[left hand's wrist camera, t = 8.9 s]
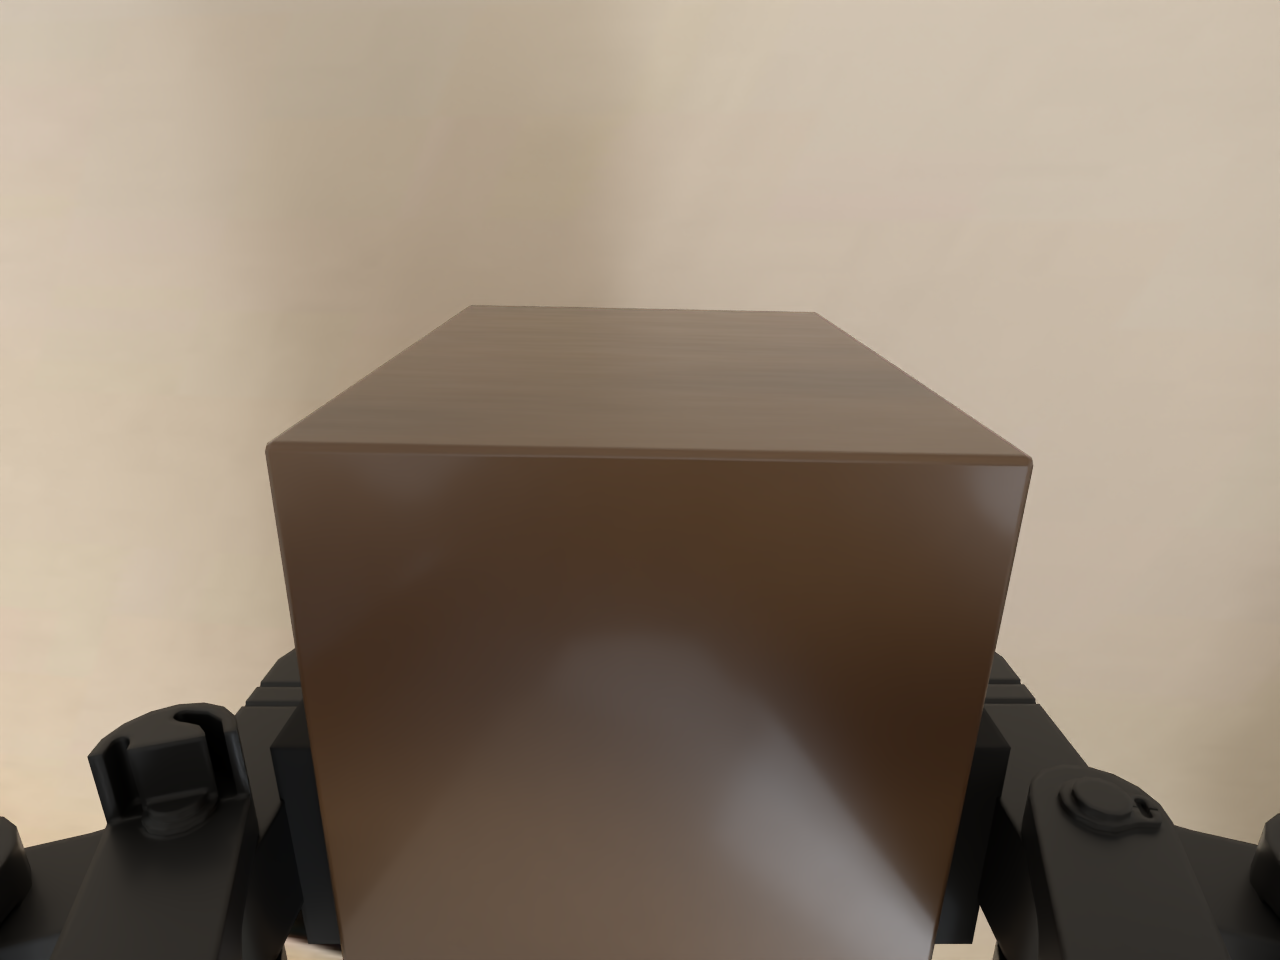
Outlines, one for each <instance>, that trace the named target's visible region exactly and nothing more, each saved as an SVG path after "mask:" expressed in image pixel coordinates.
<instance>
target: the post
mask: <svg viewBox="0 0 1280 960" xmlns="http://www.w3.org/2000/svg"><path fill="white" fill-rule="evenodd" d="M265 454H266V460H267V467H268V473H269V480H270V486H271V493H272V499H273V506H274V512H275V519H276V525H277V532H278V538H279V545H280V551H281V558H282V564H283V571H284V577H285V584H286V590H287V597H288V603H289V610H290V617H291V623H292V630H293V636H294V643H295V649H296V656H297V662H298V669H299V675H300V682H301V688H302V695H303V701H304V708H305V714H306V721H307V727H308V734H309V740H310V747H311V753H312V760H313V766H314V773H315V779H316V786H317V792H318V799H319V806H320V812H321V819H322V825H323V832H324V838H325V845H326V851H327V858H328V864H329V871H330V877H331V884H332V890H333V897H334V903H335V910H336V916H337V923H338V929H339V936H340V942H341V949H342V955H343V960H931V959H932V954H933V949H934V944H935V940H936V935H937V930H938V925H939V920H940V915H941V911H942V906H943V901H944V896H945V891H946V886H947V881H948V877H949V872H950V867H951V862H952V857H953V852H954V847H955V843H956V838H957V833H958V828H959V823H960V818H961V814H962V809H963V804H964V799H965V794H966V789H967V784H968V780H969V775H970V770H971V765H972V760H973V755H974V750H975V746H976V741H977V736H978V731H979V726H980V721H981V716H982V712H983V707H984V702H985V697H986V692H987V687H988V683H989V678H990V673H991V668H992V663H993V658H994V653H995V649H996V644H997V639H998V634H999V629H1000V624H1001V619H1002V615H1003V610H1004V605H1005V600H1006V595H1007V590H1008V586H1009V581H1010V576H1011V571H1012V566H1013V561H1014V556H1015V552H1016V547H1017V542H1018V537H1019V532H1020V527H1021V522H1022V518H1023V513H1024V508H1025V503H1026V498H1027V493H1028V489H1029V484H1030V479H1031V474H1032V469H1033V461H1032V458H1031V457H1030V456H1029V455H1027V454H1026V453H1024V452H1023V451H1021V450H1020V449H1018V448H1017V447H1015V446H1014V445H1012V444H1011V443H1009V442H1008V441H1006V440H1005V439H1003V438H1002V437H1000V436H999V435H997V434H996V433H994V432H993V431H991V430H990V429H988V428H987V427H985V426H984V425H982V424H981V423H980V422H978V421H977V420H975V419H974V418H972V417H971V416H969V415H968V414H966V413H965V412H963V411H962V410H960V409H959V408H957V407H956V406H954V405H953V404H951V403H950V402H948V401H947V400H945V399H944V398H942V397H941V396H939V395H938V394H936V393H935V392H933V391H932V390H931V389H929V388H928V387H926V386H925V385H923V384H922V383H920V382H919V381H917V380H916V379H914V378H913V377H911V376H910V375H908V374H907V373H905V372H904V371H902V370H901V369H899V368H898V367H896V366H895V365H893V364H892V363H890V362H889V361H887V360H886V359H884V358H883V357H881V356H880V355H879V354H877V353H876V352H874V351H873V350H871V349H870V348H868V347H867V346H865V345H864V344H862V343H861V342H859V341H858V340H856V339H855V338H853V337H852V336H850V335H849V334H847V333H846V332H844V331H843V330H841V329H840V328H838V327H837V326H835V325H834V324H832V323H831V322H829V321H828V320H827V319H825V318H824V317H822V316H821V315H819V314H818V313H815V312H777V311H728V310H678V309H628V308H579V307H529V306H480V305H471V306H469V307H467V308H466V309H464V310H463V311H461V312H460V313H459V314H457V315H456V316H454V317H453V318H451V319H450V320H448V321H447V322H445V323H444V324H442V325H441V326H439V327H438V328H436V329H435V330H433V331H432V332H431V333H429V334H428V335H426V336H425V337H423V338H422V339H420V340H419V341H417V342H416V343H414V344H413V345H411V346H410V347H408V348H407V349H406V350H404V351H403V352H401V353H400V354H398V355H397V356H395V357H394V358H392V359H391V360H389V361H388V362H386V363H385V364H383V365H382V366H380V367H379V368H378V369H376V370H375V371H373V372H372V373H370V374H369V375H367V376H366V377H364V378H363V379H361V380H360V381H358V382H357V383H355V384H354V385H352V386H351V387H350V388H348V389H347V390H345V391H344V392H342V393H341V394H339V395H338V396H336V397H335V398H333V399H332V400H330V401H329V402H327V403H326V404H324V405H323V406H322V407H320V408H319V409H317V410H316V411H314V412H313V413H311V414H310V415H308V416H307V417H305V418H304V419H302V420H301V421H299V422H298V423H296V424H295V425H294V426H292V427H291V428H289V429H288V430H286V431H285V432H283V433H282V434H280V435H279V436H277V437H276V438H274V439H273V440H271V441H270V442H268V443H267V446H266V450H265Z"/></svg>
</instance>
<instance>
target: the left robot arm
mask: <svg viewBox="0 0 1280 960" xmlns="http://www.w3.org/2000/svg"><path fill="white" fill-rule="evenodd" d="M88 760H89V764H90V767H91V771H92V774H93V777H94V781H95V784H96V787H97V791H98V794H99V797H100V801H101V804H102V808H103V811H104V814H105V818H106V821H107V826H106V828H105V829H103V830H100V831H96V832H93V833H89V834H85V835H80V836H76V837H71V838H67V839H63V840H58V841H54V842H49V843H45V844H40V845H36V846H32V847H27V848H24V847H23V844H22V841H21V839H20V836H19V833H18V830H17V827H16V826H15V825H14V824H12V823H11V822H10V821H9V820H7V819H6V818H5V817H0V960H287V956H286V951H285V946H284V943H285V941H286V939H287V937H288V934H289V932H290V930H291V928H292V926H293V924H294V922H295V920H296V918H297V916H298V913H299V911H300V909H302V914H303V919H304V924H305V929H306V934H307V939H308V944H341V942H340V936H339V929H338V923H337V916H336V910H335V903H334V897H333V890H332V884H331V877H330V871H329V864H328V858H327V851H326V845H325V838H324V832H323V825H322V819H321V812H320V806H319V799H318V792H317V786H316V779H315V773H314V766H313V760H312V753H311V747H310V740H309V734H308V727H307V721H306V714H305V708H304V701H303V695H302V688H301V682H300V675H299V669H298V662H297V656H296V649H293V650H292V651H290V652H289V653H287V654H286V655H284V656H283V657H281V658H280V659H278V661H277V662H276V663H275V665H274V666H273V667H272V668H271V670H270V671H269V672H268V674H267V675H266V676H265V677H264V679H263V680H262V681H261V685H260V687H257V688H256V689H255V690H254V692H253V693H252V694H251V695H250V697H249V698H248V699H247V701H246V705H245V707H241V708H240V710H239V711H238V712H237V713H236V715H233V714H232V713H231V712H230V711H229V710H227V709H226V708H225V707H223V706H218V705H213V704H208V703H192V704H178V705H174V706H171V707H167V708H163V709H159V710H155V711H151V712H149V713H147V714H145V715H142V716H140V717H138V718H136V719H133V720H131V721H129V722H127V723H124V724H123V725H121V726H120V727H119V728H117V729H116V730H114V731H113V732H111V733H110V734H109V735H107V736H106V737H104V738H103V739H101V741H100V742H99V743H98V744H97V746H96V747H95V748H94V749H93V750H92V752H91V753H90V754H89V755H88ZM979 906H981V908H982V911H983V913H984V915H985V917H986V919H987V921H988V923H989V925H990V927H991V929H992V931H993V934H994V936H995V938H996V940H997V941H996V946H995V951H994V956H993V960H1280V813H1279V814H1277V815H1276V816H1274V817H1273V818H1272V819H1270V820H1269V821H1268V822H1266V823H1265V826H1264V829H1263V832H1262V835H1261V838H1260V841H1259V843H1258V845H1255V844H1251V843H1246V842H1242V841H1237V840H1233V839H1228V838H1224V837H1219V836H1215V835H1211V834H1206V833H1202V832H1197V831H1193V830H1189V829H1186V828H1182V827H1179V826H1175V825H1174V824H1173V822H1172V821H1171V819H1170V818H1169V816H1168V815H1167V814H1166V812H1165V811H1164V809H1163V808H1162V806H1161V805H1160V804H1159V803H1158V802H1157V801H1155V800H1154V799H1153V798H1152V797H1150V796H1149V795H1148V794H1147V793H1145V792H1144V791H1143V790H1142V789H1140V788H1139V787H1137V786H1135V785H1133V784H1131V783H1129V782H1128V781H1126V780H1124V779H1122V778H1120V777H1118V776H1116V775H1114V774H1111V773H1108V772H1104V771H1101V770H1097V769H1094V768H1091V767H1088V766H1087V764H1086V763H1085V762H1084V760H1083V759H1082V758H1081V757H1080V755H1079V754H1078V753H1077V751H1076V750H1075V749H1074V748H1073V746H1072V745H1071V744H1070V743H1069V741H1068V740H1067V739H1066V737H1065V736H1064V735H1063V734H1062V732H1061V731H1060V730H1059V728H1058V727H1057V726H1056V725H1055V723H1054V722H1053V721H1052V720H1051V718H1050V717H1049V716H1048V714H1047V713H1046V712H1045V711H1044V709H1043V708H1042V707H1041V706H1040V704H1036V702H1035V698H1034V697H1033V695H1032V694H1031V693H1030V691H1029V690H1028V689H1027V688H1026V686H1025V685H1024V684H1021V683H1020V679H1019V677H1018V676H1017V675H1016V674H1015V672H1014V671H1013V670H1012V668H1011V667H1010V666H1009V665H1008V663H1007V662H1006V661H1005V660H1004V658H1003V657H1002V656H1000V655H999V654H997V653H996V652H995V653H994V658H993V663H992V668H991V673H990V678H989V683H988V687H987V692H986V697H985V702H984V707H983V712H982V716H981V721H980V726H979V731H978V736H977V741H976V746H975V750H974V755H973V760H972V765H971V770H970V775H969V780H968V784H967V789H966V794H965V799H964V804H963V809H962V814H961V818H960V823H959V828H958V833H957V838H956V843H955V847H954V852H953V857H952V862H951V867H950V872H949V877H948V881H947V886H946V891H945V896H944V901H943V906H942V911H941V915H940V920H939V925H938V930H937V935H936V940H935V944H972V942H973V937H974V932H975V927H976V921H977V916H978V911H979Z"/></svg>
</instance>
